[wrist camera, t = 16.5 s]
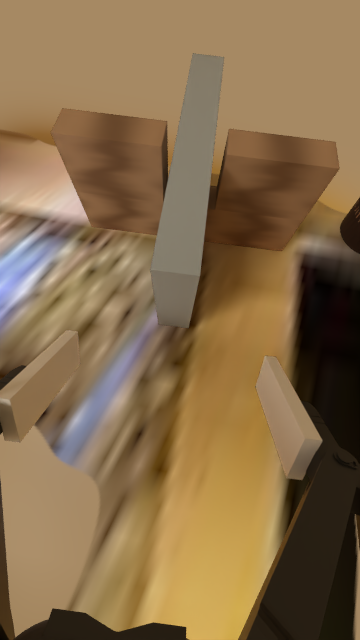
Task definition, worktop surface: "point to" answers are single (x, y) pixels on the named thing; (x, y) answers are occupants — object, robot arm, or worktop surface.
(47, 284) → the worktop surface
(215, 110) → the grey plain narrow board
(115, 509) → the worktop surface
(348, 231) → the coffee mug
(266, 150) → the walnut slotted board
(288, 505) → the worktop surface
